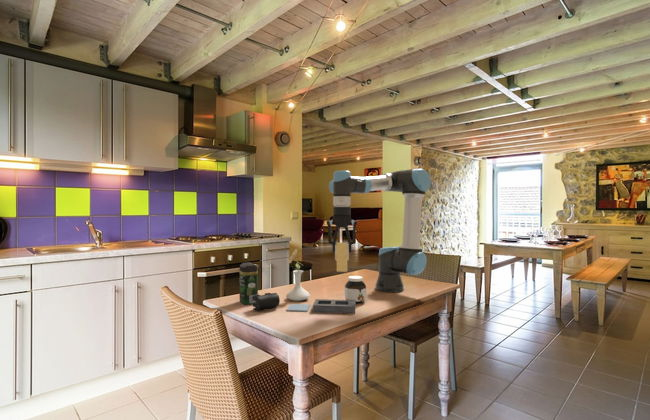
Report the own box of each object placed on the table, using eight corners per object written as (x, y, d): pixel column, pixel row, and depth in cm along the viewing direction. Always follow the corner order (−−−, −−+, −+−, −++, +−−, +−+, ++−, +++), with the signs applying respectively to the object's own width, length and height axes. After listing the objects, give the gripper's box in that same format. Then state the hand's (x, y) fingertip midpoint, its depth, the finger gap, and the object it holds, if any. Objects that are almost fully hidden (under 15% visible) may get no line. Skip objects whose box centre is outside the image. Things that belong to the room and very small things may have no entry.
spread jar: (347, 304, 160) (348, 279, 160) (340, 298, 171) (340, 274, 171) (372, 302, 163) (372, 278, 163) (363, 296, 174) (363, 273, 174)
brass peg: (347, 269, 154) (347, 242, 153) (346, 271, 149) (346, 243, 149) (337, 269, 154) (337, 242, 154) (336, 271, 150) (336, 243, 150)
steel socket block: (355, 306, 156) (355, 300, 156) (355, 313, 146) (355, 306, 146) (315, 305, 158) (315, 299, 158) (312, 312, 148) (312, 305, 148)
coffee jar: (237, 301, 165) (237, 262, 165) (253, 299, 169) (253, 260, 169) (243, 306, 157) (243, 265, 157) (260, 303, 161) (260, 263, 161)
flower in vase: (290, 295, 175) (290, 246, 175) (312, 297, 173) (312, 246, 173) (282, 302, 162) (282, 249, 162) (305, 304, 160) (305, 250, 160)
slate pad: (310, 305, 158) (310, 304, 158) (307, 311, 149) (307, 310, 149) (290, 305, 158) (290, 303, 158) (286, 311, 150) (286, 309, 150)
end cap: (259, 313, 146) (259, 297, 146) (251, 310, 151) (251, 294, 151) (279, 309, 153) (279, 293, 152) (271, 305, 158) (271, 290, 158)
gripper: (321, 206, 148) (321, 260, 149) (362, 206, 147) (362, 261, 147) (322, 206, 156) (323, 258, 156) (362, 206, 154) (362, 258, 154)
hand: (342, 259), depth 152 cm, fingers closed on brass peg, 4 cm apart
